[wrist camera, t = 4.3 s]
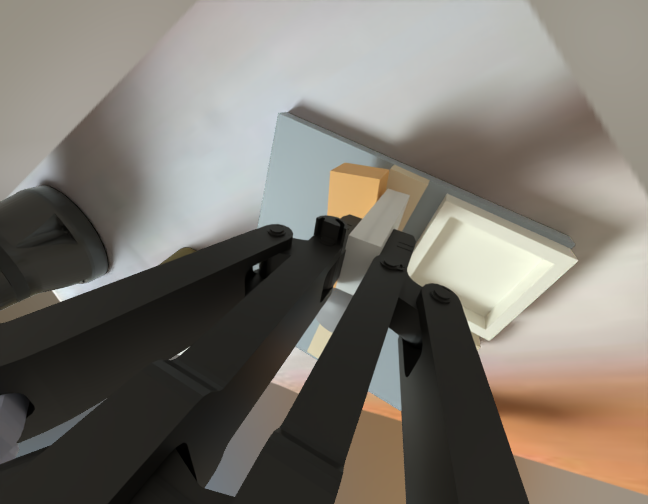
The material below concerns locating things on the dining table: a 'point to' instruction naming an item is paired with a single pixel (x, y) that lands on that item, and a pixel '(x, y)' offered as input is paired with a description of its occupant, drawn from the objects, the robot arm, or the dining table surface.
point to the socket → (486, 263)
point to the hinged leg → (355, 199)
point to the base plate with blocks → (312, 201)
